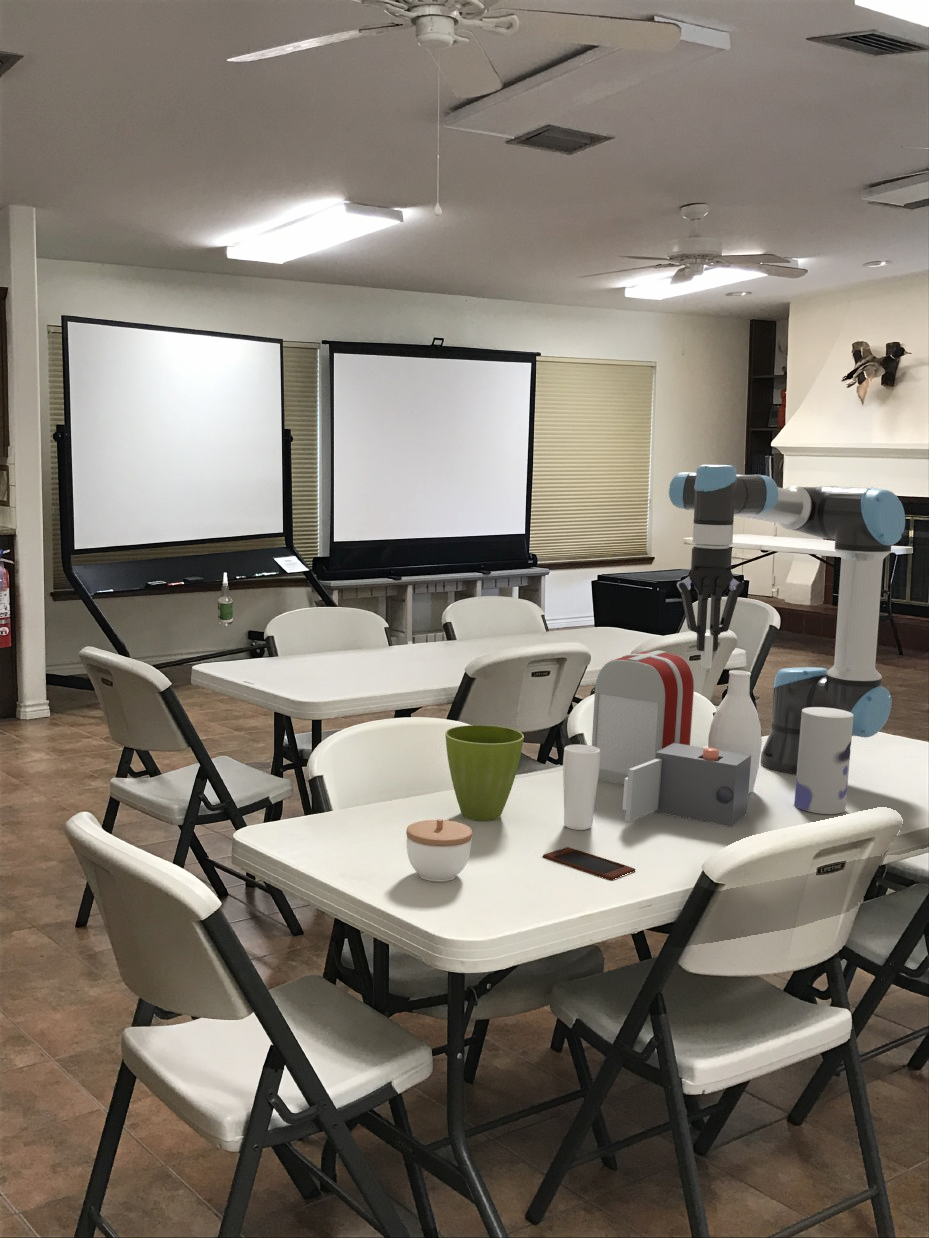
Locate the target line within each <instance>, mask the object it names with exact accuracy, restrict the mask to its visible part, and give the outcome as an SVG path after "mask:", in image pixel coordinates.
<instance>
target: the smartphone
mask: <svg viewBox="0 0 929 1238" xmlns="http://www.w3.org/2000/svg"><path fill="white" fill-rule="evenodd" d="M542 858H543V859H547V860H548V861H552V862H554V863H558V864H559V865H563V866H567V867H569V868H572V869H576V870H578V871H581V872H583V873H587V874H590V875H593V876H595V877H599V876H600V877H599V878H602V877H603V878H602V879H605V878H606V879H605V880H608V879H609V880H608V881H614V880H613V879H615V878H618V877H620V876H622V875H625V874H627V873H630V872H633V871H635V870H636V868H635V867H632V866H629V865H626V864H623V863H620V862H617V861H613V860H611V859H607V858H604V857H601V856H598V855H595V854H592V853H588V852H585V851H582V850H580V849H575V848H572V847H569V846H566V847H562V848H560V849H559V848H558V849H557V850H554V851H550V852H547V853H544V854H543V855H542ZM633 873H634V872H633ZM620 878H621V877H620ZM618 879H619V878H618ZM615 880H616V879H615Z"/></svg>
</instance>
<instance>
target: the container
mask: <svg viewBox="0 0 929 1238" xmlns="http://www.w3.org/2000/svg"><path fill="white" fill-rule="evenodd" d="M853 717H854V715H853V714H852V713H850V712H848V711H844V710H840V709H834V708H825V707H809V708H804V709H802V716H801V728H800V740H799V752H798V765H797V774H796V779H795V781H796V783H795V790H794V791H795V792H794V804H793V805H794V806H795V807H797V808H798V809H799V810H802V811H805V812H808V813H809V812H810V813H814V814H822V815H838V814H842V813H845V811H846V809H847V808H846V807H847V805H846V804H847V793H848V784H849V783H848V782H849V772H850V771H849V770H850V761H851V746H852V737H853V736H852V728H853Z"/></svg>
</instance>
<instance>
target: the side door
mask: <svg viewBox="0 0 929 1238" xmlns="http://www.w3.org/2000/svg"><path fill="white" fill-rule="evenodd" d="M661 767H662V759H660V758H657V759H654V760H652V761H649V762H646V763H644V764H641V765H638V766H636V767H633V768H630V769H628V777H627V778H625V781H624V785H623V798H622V799H623V800H622V810H624V811H625V819H624V821H626V822H628V823H629V822H633V821H636V820H637V819H639V818H642V817H644V816H647V815H648V814H651V813H654V812H653V811H655V810H657V809H659V797H660V782H661Z"/></svg>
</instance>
